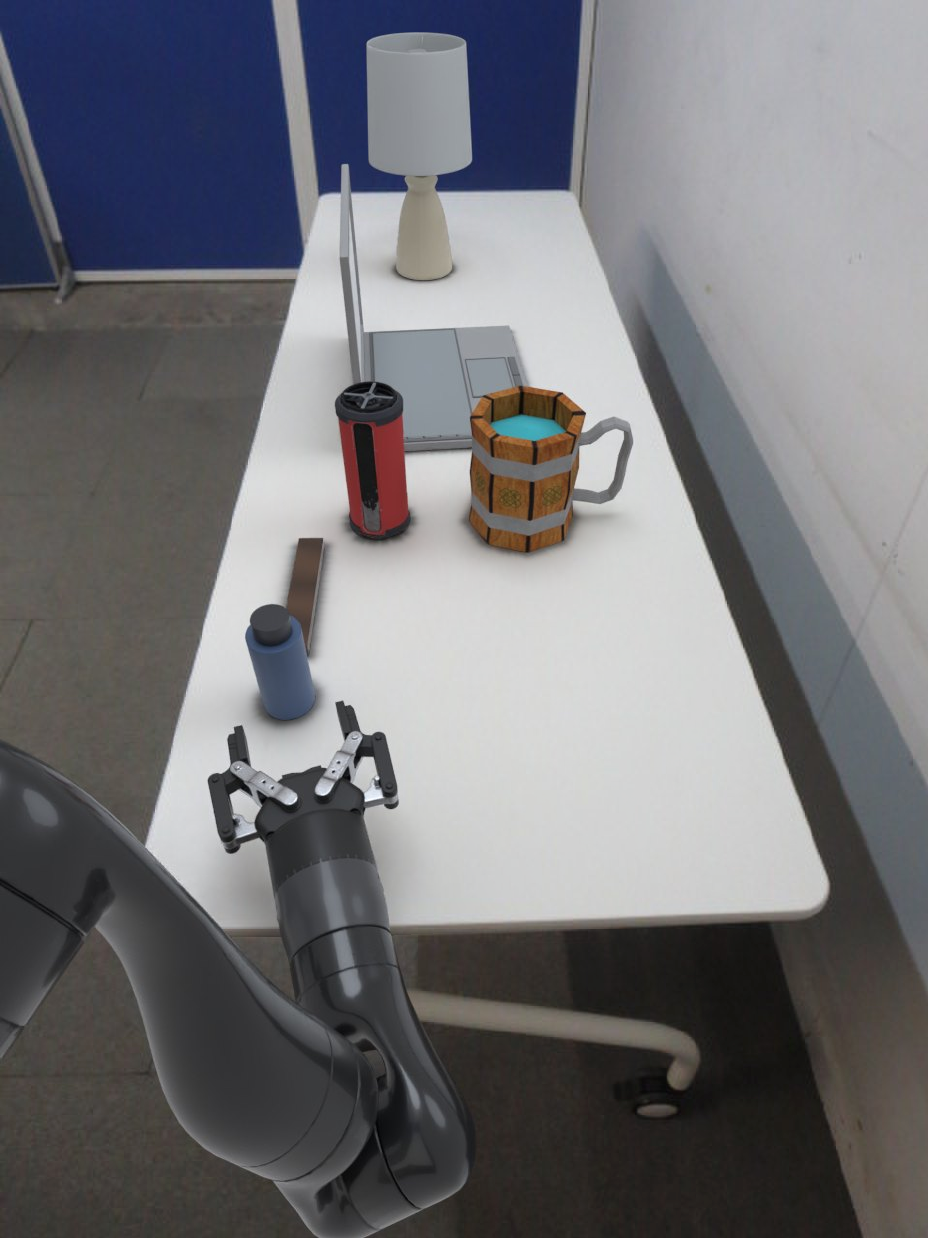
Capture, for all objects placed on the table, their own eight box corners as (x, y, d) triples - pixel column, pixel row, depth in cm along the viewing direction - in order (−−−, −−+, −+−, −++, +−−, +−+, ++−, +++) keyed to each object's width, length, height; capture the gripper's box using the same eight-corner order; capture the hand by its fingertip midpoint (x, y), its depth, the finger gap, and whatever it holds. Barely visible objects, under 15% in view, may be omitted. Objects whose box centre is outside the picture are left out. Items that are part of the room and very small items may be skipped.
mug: (472, 555, 98) (474, 450, 87) (464, 489, 107) (464, 387, 96) (631, 547, 99) (652, 443, 88) (609, 483, 108) (625, 381, 98)
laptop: (542, 444, 115) (558, 248, 95) (359, 454, 113) (338, 257, 94) (508, 332, 139) (516, 158, 120) (357, 339, 137) (340, 163, 118)
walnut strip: (309, 655, 86) (307, 645, 85) (281, 655, 86) (278, 646, 85) (324, 546, 99) (323, 537, 98) (300, 547, 99) (298, 537, 98)
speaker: (342, 537, 100) (325, 409, 87) (359, 500, 105) (344, 374, 93) (403, 543, 99) (394, 415, 86) (416, 506, 105) (409, 380, 92)
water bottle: (294, 727, 79) (274, 645, 71) (253, 707, 81) (228, 625, 73) (325, 692, 83) (309, 609, 74) (285, 673, 84) (265, 590, 76)
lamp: (475, 252, 164) (477, 31, 138) (467, 290, 151) (467, 55, 125) (385, 249, 165) (370, 29, 139) (369, 287, 152) (349, 53, 126)
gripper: (422, 837, 56) (368, 670, 67) (215, 897, 53) (194, 712, 64) (425, 886, 62) (375, 724, 72) (237, 943, 58) (214, 765, 69)
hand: (290, 719), depth 68 cm, fingers open, 8 cm apart
